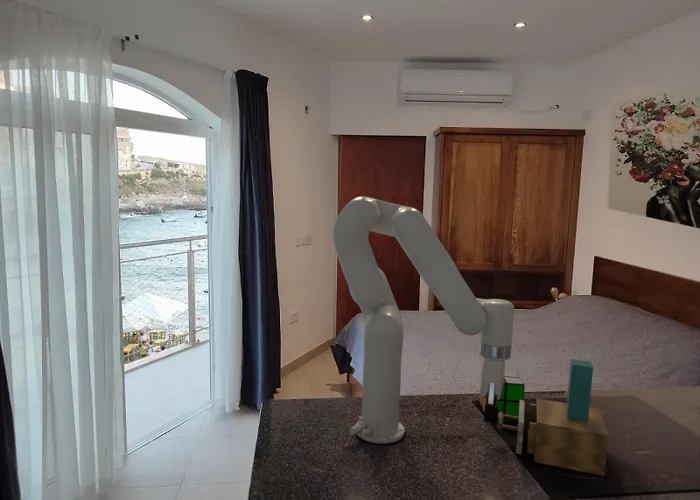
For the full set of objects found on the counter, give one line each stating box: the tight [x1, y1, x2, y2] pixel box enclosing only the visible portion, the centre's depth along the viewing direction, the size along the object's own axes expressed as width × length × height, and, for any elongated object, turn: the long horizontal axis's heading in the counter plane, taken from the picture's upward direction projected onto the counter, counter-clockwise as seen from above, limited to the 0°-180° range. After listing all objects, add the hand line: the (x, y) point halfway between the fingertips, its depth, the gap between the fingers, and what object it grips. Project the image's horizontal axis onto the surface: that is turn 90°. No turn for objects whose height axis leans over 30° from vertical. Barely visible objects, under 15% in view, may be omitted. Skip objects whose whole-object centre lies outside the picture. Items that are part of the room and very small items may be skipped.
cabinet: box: [533, 398, 609, 477], centre depth 118 cm, size 15×15×10 cm
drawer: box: [496, 399, 537, 455], centre depth 120 cm, size 18×13×8 cm
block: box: [566, 358, 594, 422], centre depth 116 cm, size 4×4×13 cm
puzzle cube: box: [479, 370, 526, 417], centre depth 140 cm, size 10×10×10 cm
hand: (490, 420), depth 124 cm, fingers closed
